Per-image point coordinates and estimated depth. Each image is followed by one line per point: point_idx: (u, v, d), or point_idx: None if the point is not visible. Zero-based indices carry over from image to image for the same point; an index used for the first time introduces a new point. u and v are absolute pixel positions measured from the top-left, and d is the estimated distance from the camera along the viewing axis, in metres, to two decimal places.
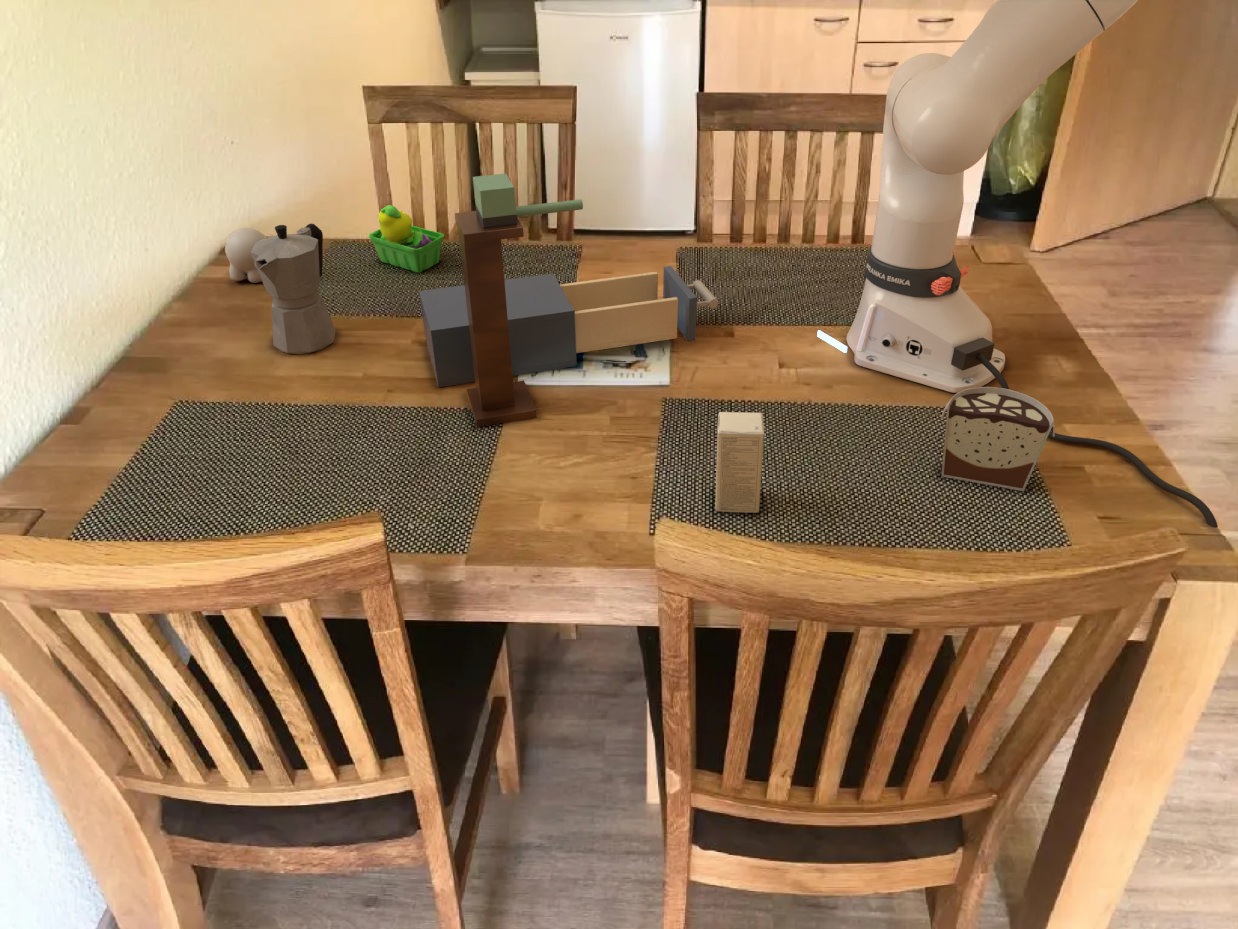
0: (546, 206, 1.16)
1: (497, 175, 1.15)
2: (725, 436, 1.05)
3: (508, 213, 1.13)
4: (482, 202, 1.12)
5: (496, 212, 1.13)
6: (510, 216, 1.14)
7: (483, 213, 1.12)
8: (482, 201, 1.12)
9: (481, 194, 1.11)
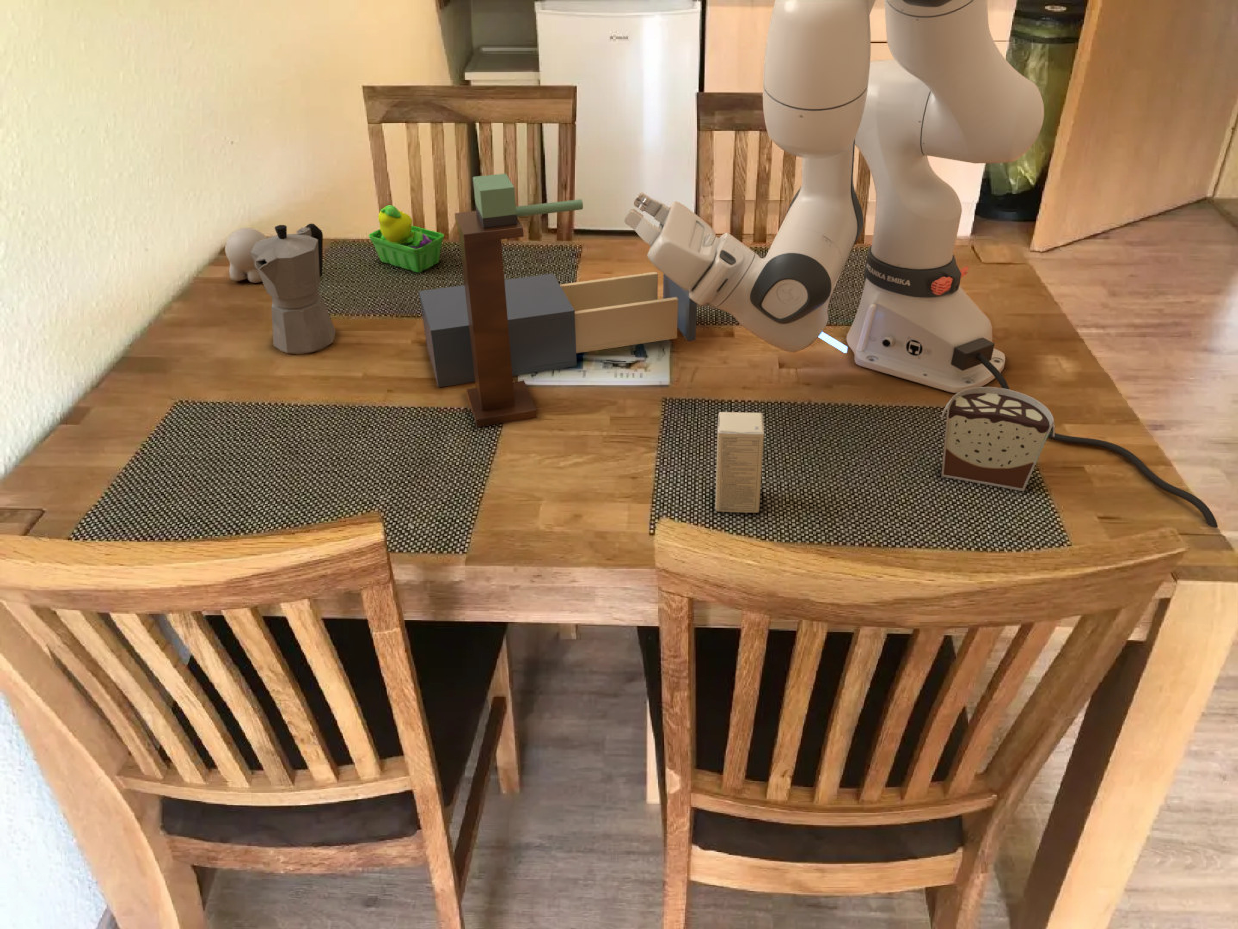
0: (546, 206, 1.16)
1: (497, 175, 1.15)
2: (725, 436, 1.05)
3: (508, 213, 1.13)
4: (482, 202, 1.12)
5: (496, 212, 1.13)
6: (510, 216, 1.14)
7: (483, 213, 1.12)
8: (482, 201, 1.12)
9: (481, 194, 1.11)
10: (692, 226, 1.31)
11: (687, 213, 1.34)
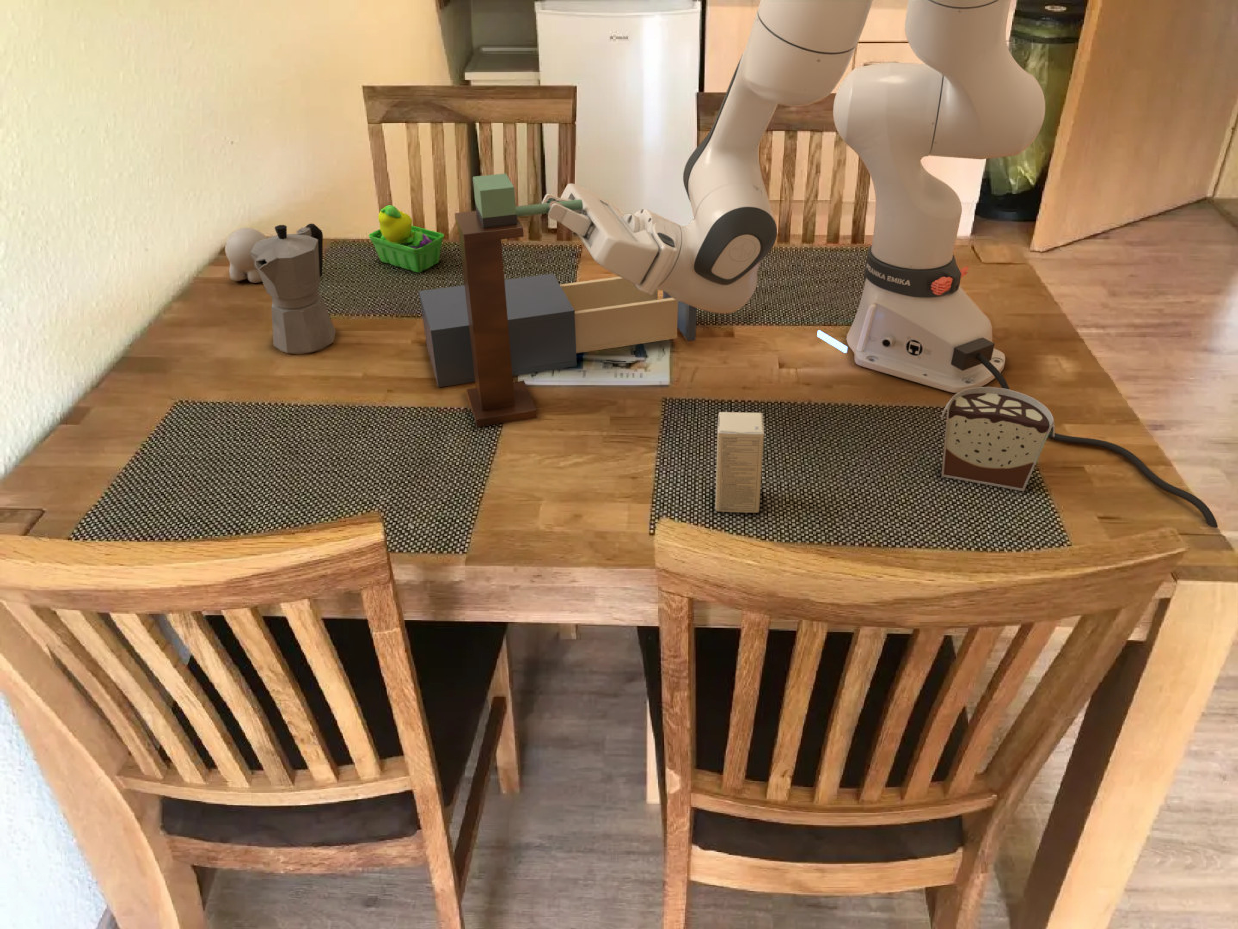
0: (546, 206, 1.16)
1: (497, 175, 1.15)
2: (725, 436, 1.05)
3: (508, 213, 1.13)
4: (482, 202, 1.12)
5: (496, 212, 1.13)
6: (510, 216, 1.14)
7: (483, 213, 1.12)
8: (482, 201, 1.12)
9: (481, 194, 1.11)
10: (605, 210, 1.22)
11: (589, 194, 1.25)
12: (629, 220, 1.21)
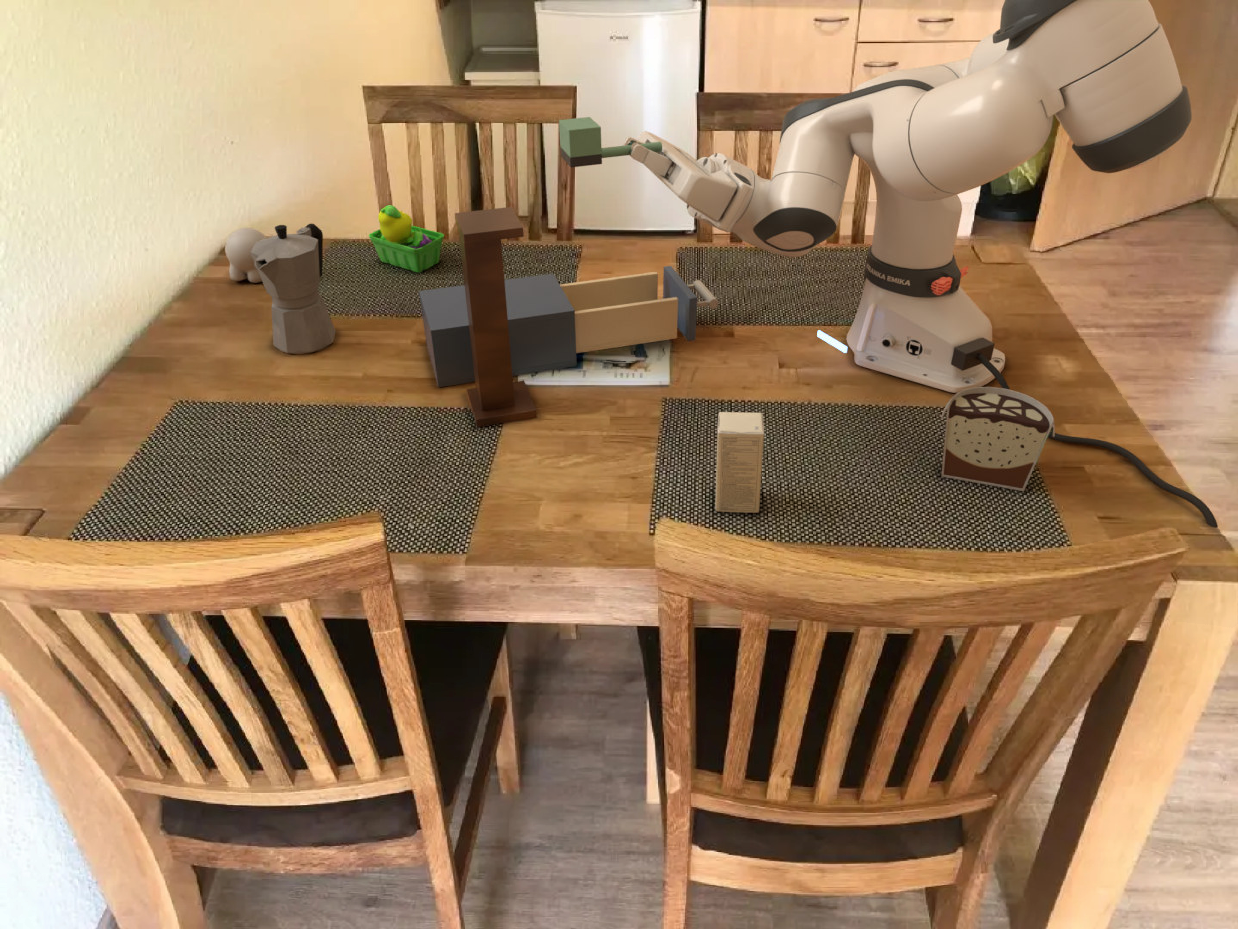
0: (628, 148, 1.22)
1: (581, 118, 1.21)
2: (725, 436, 1.05)
3: (594, 152, 1.19)
4: (570, 141, 1.17)
5: (583, 151, 1.18)
6: (596, 155, 1.19)
7: (571, 152, 1.18)
8: (570, 140, 1.17)
9: (570, 133, 1.17)
10: (681, 154, 1.28)
11: (663, 141, 1.30)
12: (704, 163, 1.27)
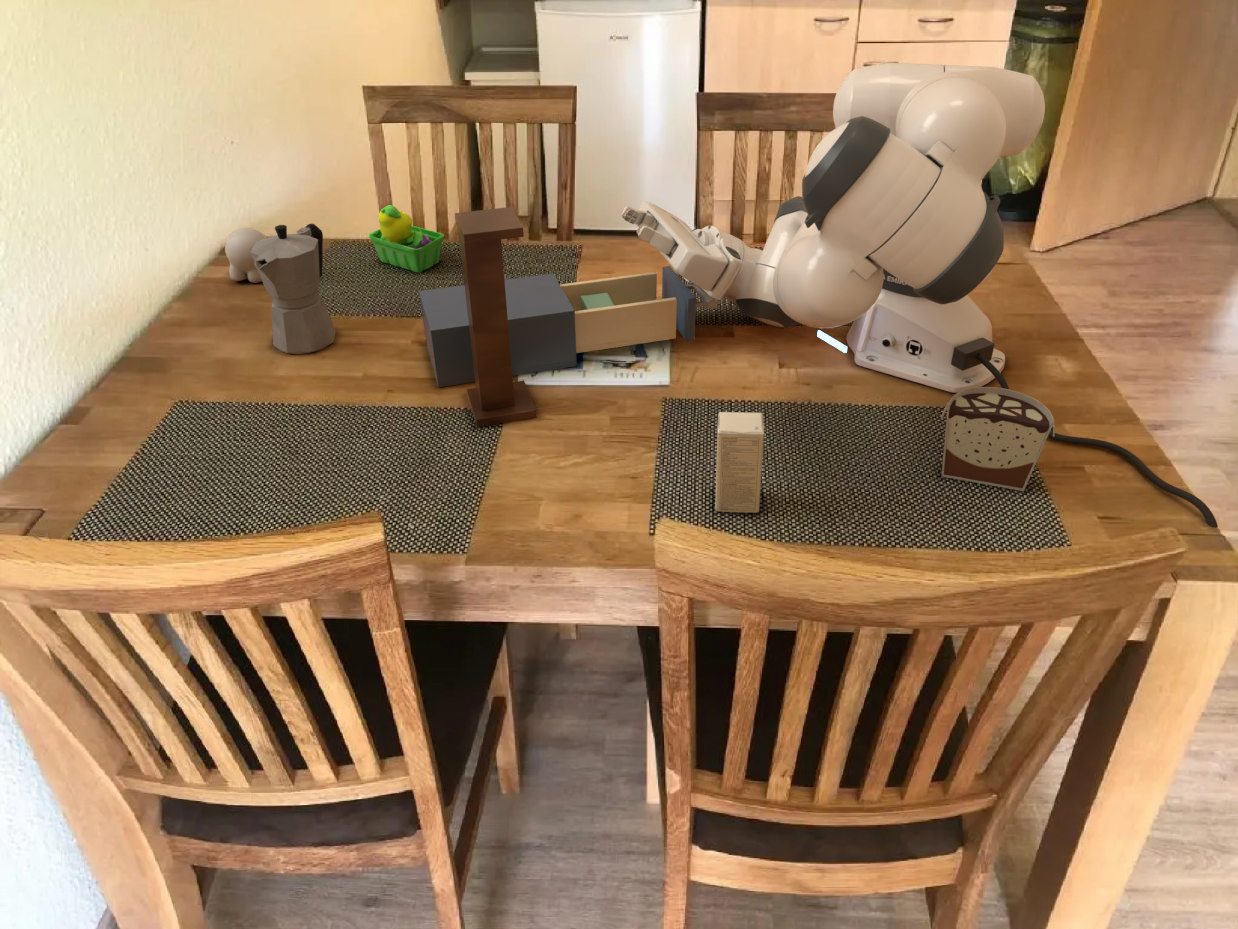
0: None
1: (600, 294, 1.43)
2: (725, 436, 1.05)
3: None
4: None
5: None
6: None
7: None
8: None
9: None
10: (678, 225, 1.41)
11: (662, 212, 1.44)
12: (699, 235, 1.41)
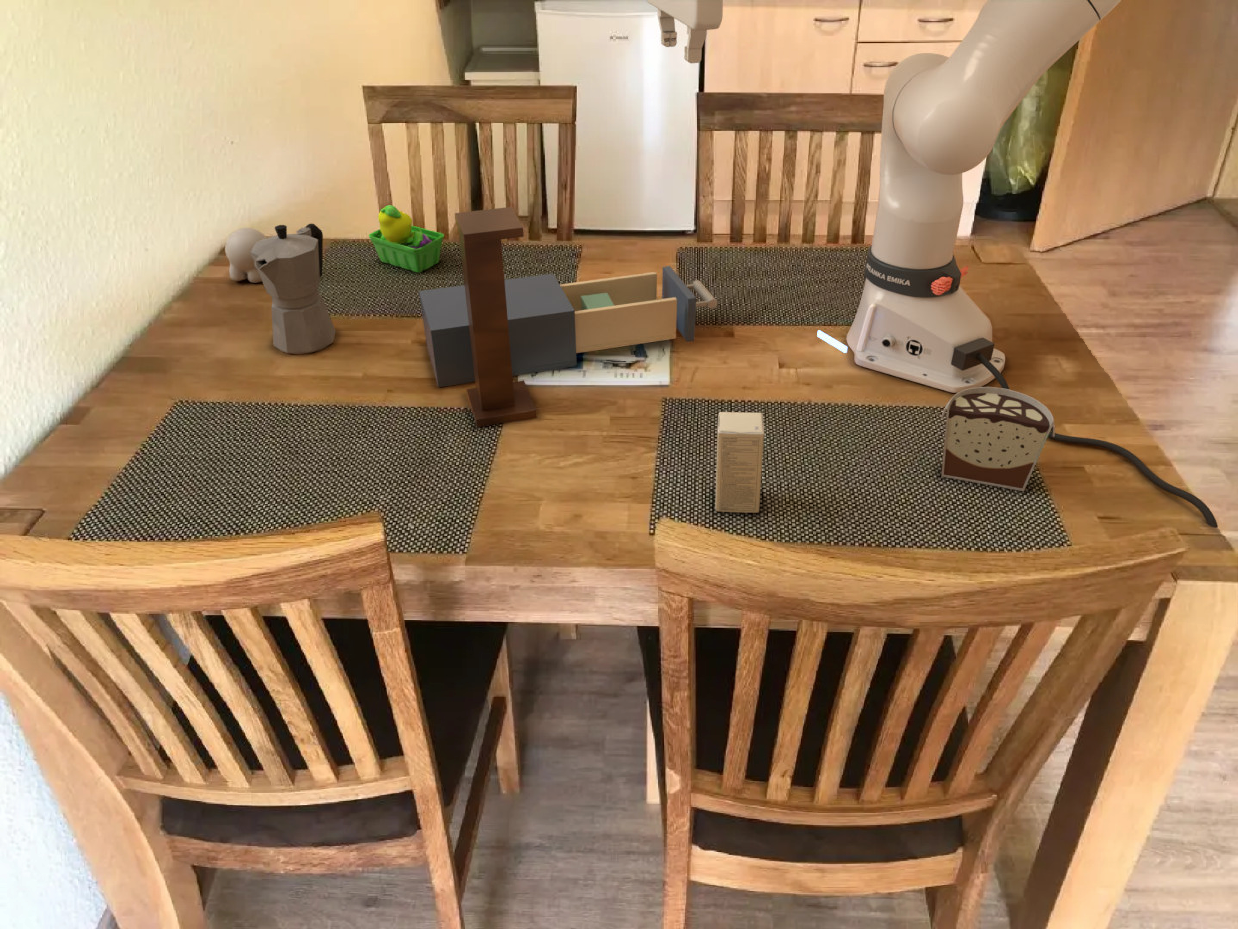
0: None
1: (600, 294, 1.43)
2: (725, 436, 1.05)
3: None
4: None
5: None
6: None
7: None
8: None
9: None
10: None
11: None
12: None
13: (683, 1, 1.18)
